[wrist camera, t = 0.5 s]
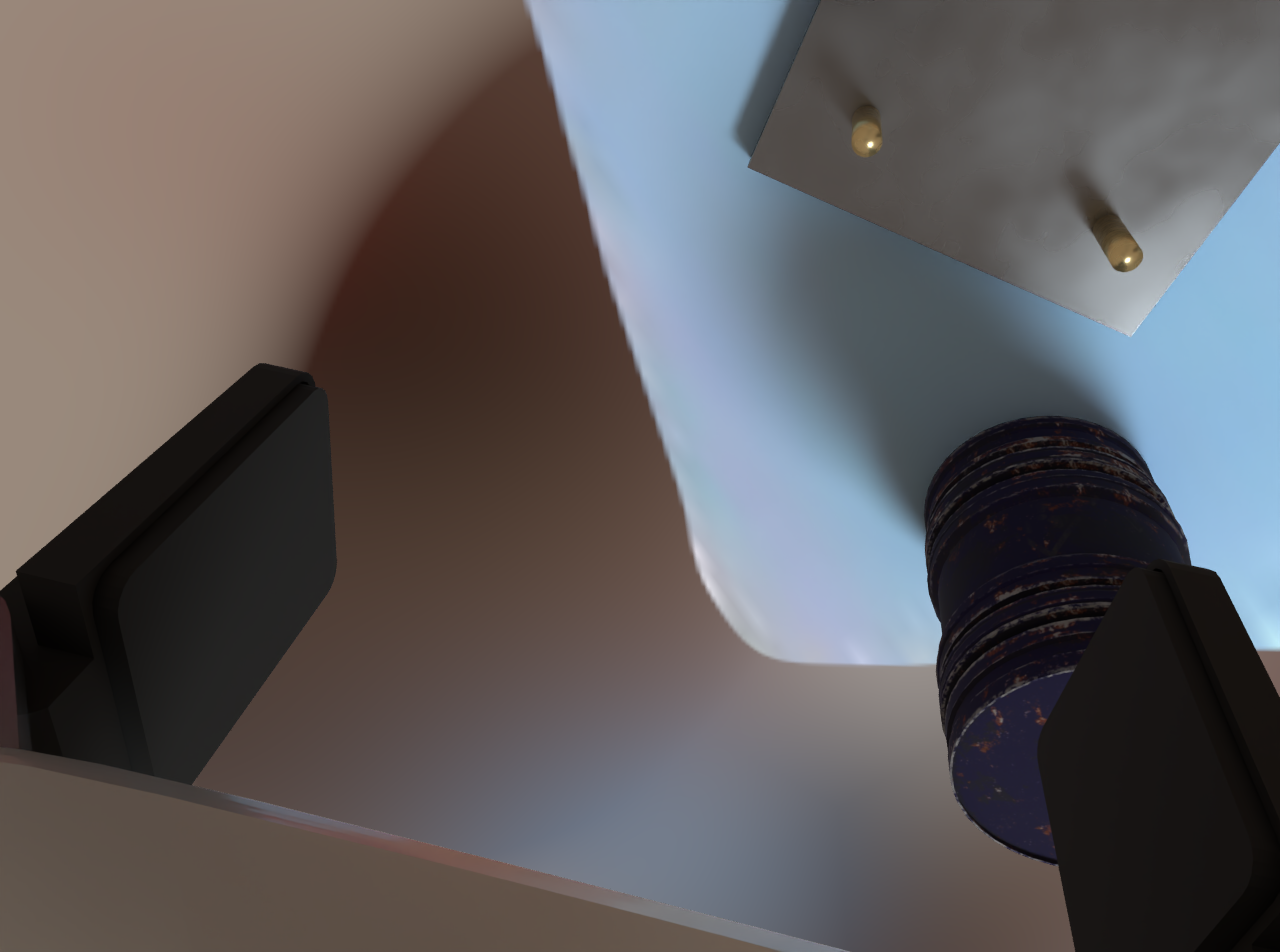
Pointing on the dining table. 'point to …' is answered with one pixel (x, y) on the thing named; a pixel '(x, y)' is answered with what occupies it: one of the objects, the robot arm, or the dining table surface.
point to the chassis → (1036, 133)
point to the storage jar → (1028, 596)
